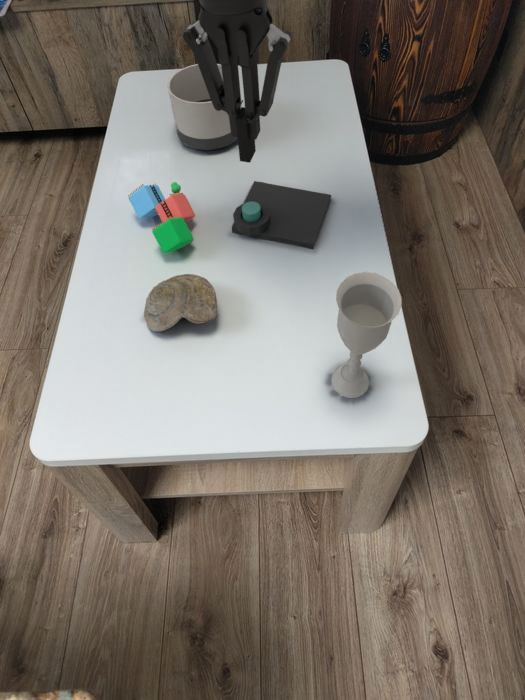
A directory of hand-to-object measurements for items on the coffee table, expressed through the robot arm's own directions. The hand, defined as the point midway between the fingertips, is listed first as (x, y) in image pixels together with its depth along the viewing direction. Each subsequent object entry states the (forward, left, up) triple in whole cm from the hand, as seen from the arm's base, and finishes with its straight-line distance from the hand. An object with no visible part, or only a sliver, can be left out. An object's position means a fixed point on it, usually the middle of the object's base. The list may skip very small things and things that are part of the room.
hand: (247, 155), depth 71 cm
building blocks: (+14, +5, -14) cm, 21 cm away
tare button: (0, 0, -12) cm, 12 cm away
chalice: (-22, +24, -14) cm, 35 cm away
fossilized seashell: (+4, +20, -15) cm, 25 cm away
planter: (+16, -22, -14) cm, 31 cm away
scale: (-4, -4, -14) cm, 15 cm away
